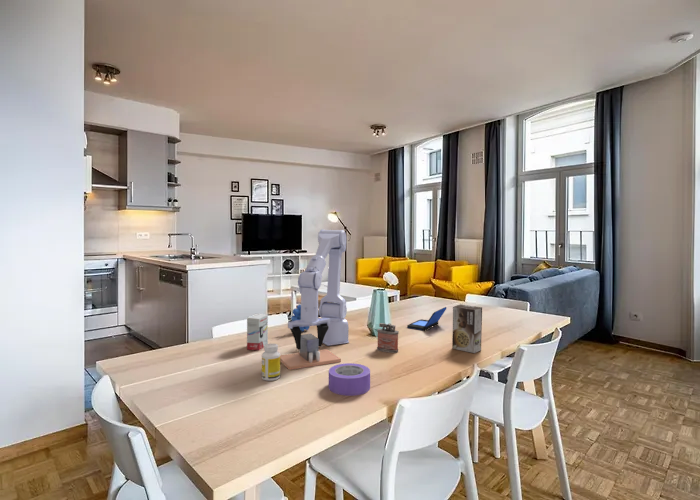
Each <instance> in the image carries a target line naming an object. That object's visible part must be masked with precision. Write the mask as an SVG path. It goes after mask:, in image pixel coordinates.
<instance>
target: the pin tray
mask: <svg viewBox="0 0 700 500" xmlns="http://www.w3.org/2000/svg"><path fill="white" fill-rule="evenodd" d="M341 361H342V359H341V358H340V357H339V356H338V355H336V354H334V353H333V352H331V351H330V350H329V349H327V348H324V349H319V351H317V352H316V360H313V353H312V352H310V353H309V361H306V360H305V359H304V358H303V357H302V356H300V350H298V352H296V353H287V354H280V363H281V364H283V366H285V367H286V368H287V369H288V371H291V370H296V369H304V368H309V367H317V366H321V365H322V366H323V365H328V364H335V363H336V364H337V363H341Z"/></svg>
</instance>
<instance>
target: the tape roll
mask: <svg viewBox="0 0 700 500" xmlns="http://www.w3.org/2000/svg"><path fill="white" fill-rule="evenodd" d="M328 390H329V391H331V393H333V394H336V395H339V396H349V397H350V396H351V397H352V396H360V395H363V394H366V393H368V392H369V391H370V390H371V369H370V368H369V367H368V366H366V365H364V364H360V363H354V362H353V363H352V362H351V363H350V362H346V363H339V364H336V365H333V366H331V367H330V368H329V369H328Z"/></svg>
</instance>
